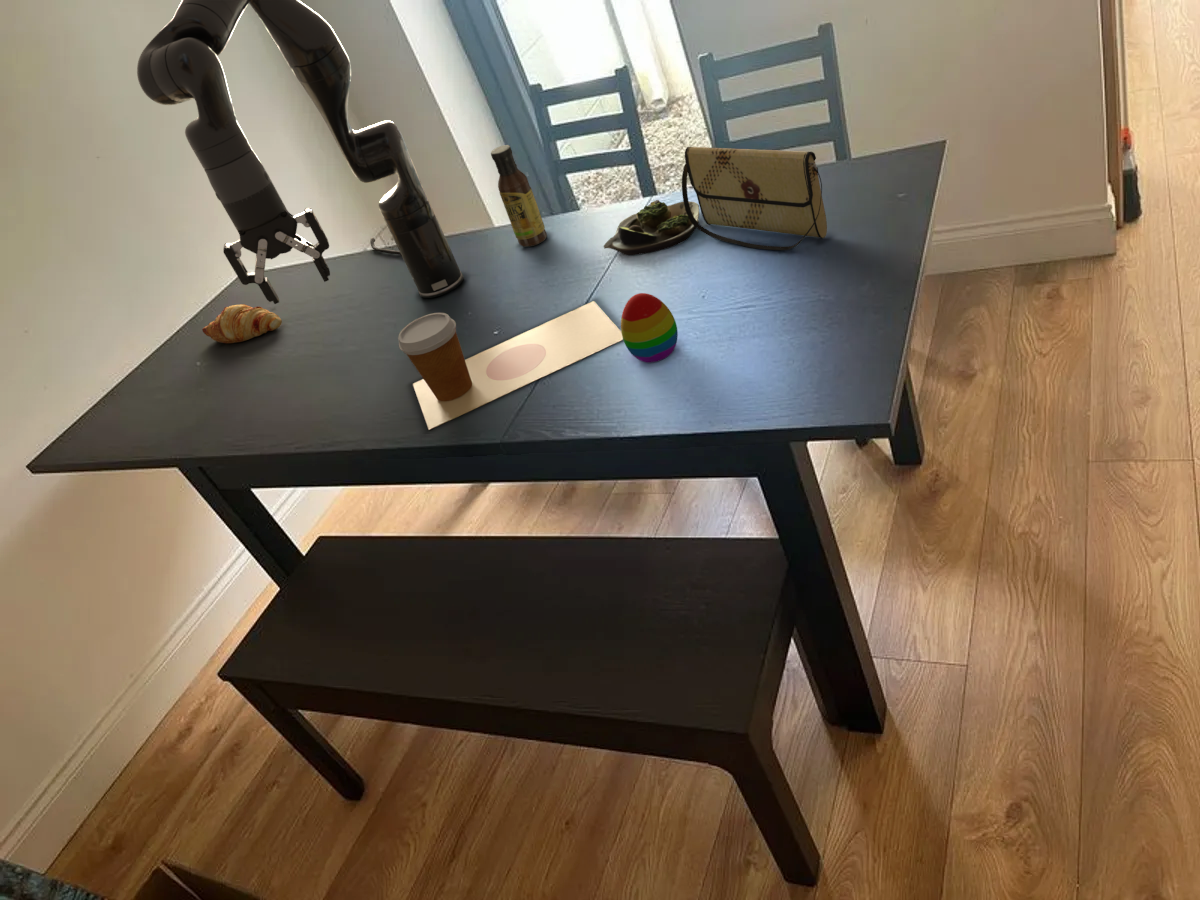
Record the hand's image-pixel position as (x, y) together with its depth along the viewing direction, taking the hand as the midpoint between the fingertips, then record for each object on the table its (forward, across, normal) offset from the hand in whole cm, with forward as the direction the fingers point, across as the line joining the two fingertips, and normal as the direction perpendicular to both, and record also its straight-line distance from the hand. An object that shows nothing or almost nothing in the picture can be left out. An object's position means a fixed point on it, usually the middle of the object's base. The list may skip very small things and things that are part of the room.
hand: (301, 290), depth 141 cm
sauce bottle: (+24, -41, -42) cm, 64 cm away
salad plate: (+24, -60, -20) cm, 68 cm away
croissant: (+24, +22, -61) cm, 69 cm away
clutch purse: (+24, -72, -1) cm, 76 cm away
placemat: (+24, -25, +3) cm, 35 cm away
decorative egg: (+24, -44, +20) cm, 54 cm away
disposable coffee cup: (+24, -14, +3) cm, 28 cm away
